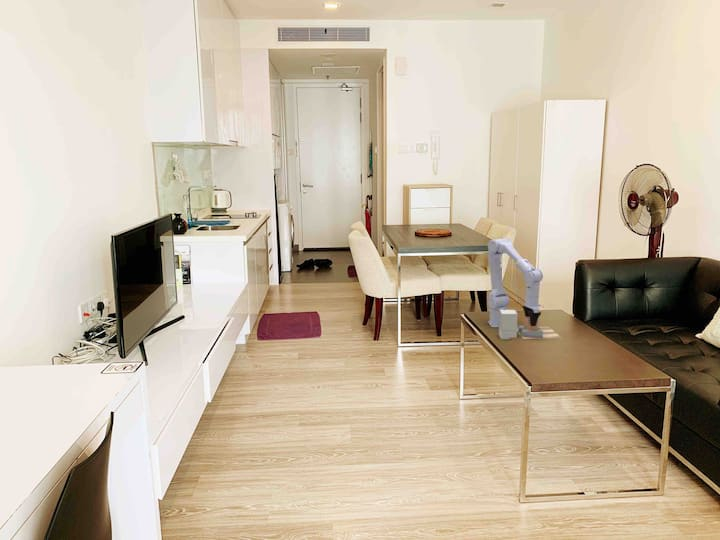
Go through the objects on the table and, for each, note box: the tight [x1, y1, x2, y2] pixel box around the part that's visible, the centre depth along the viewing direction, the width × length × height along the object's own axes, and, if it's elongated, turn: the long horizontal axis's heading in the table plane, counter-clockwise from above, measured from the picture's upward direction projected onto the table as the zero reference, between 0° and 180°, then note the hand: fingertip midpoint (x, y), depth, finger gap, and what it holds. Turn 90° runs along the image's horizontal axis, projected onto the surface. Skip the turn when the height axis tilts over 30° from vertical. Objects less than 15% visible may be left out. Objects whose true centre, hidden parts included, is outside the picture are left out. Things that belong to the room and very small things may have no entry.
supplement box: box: [498, 309, 519, 340], centre depth 260 cm, size 7×7×13 cm
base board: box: [517, 325, 563, 340], centre depth 265 cm, size 18×18×4 cm
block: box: [523, 316, 539, 330], centre depth 261 cm, size 5×5×5 cm
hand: (530, 323), depth 261 cm, fingers open, 7 cm apart
